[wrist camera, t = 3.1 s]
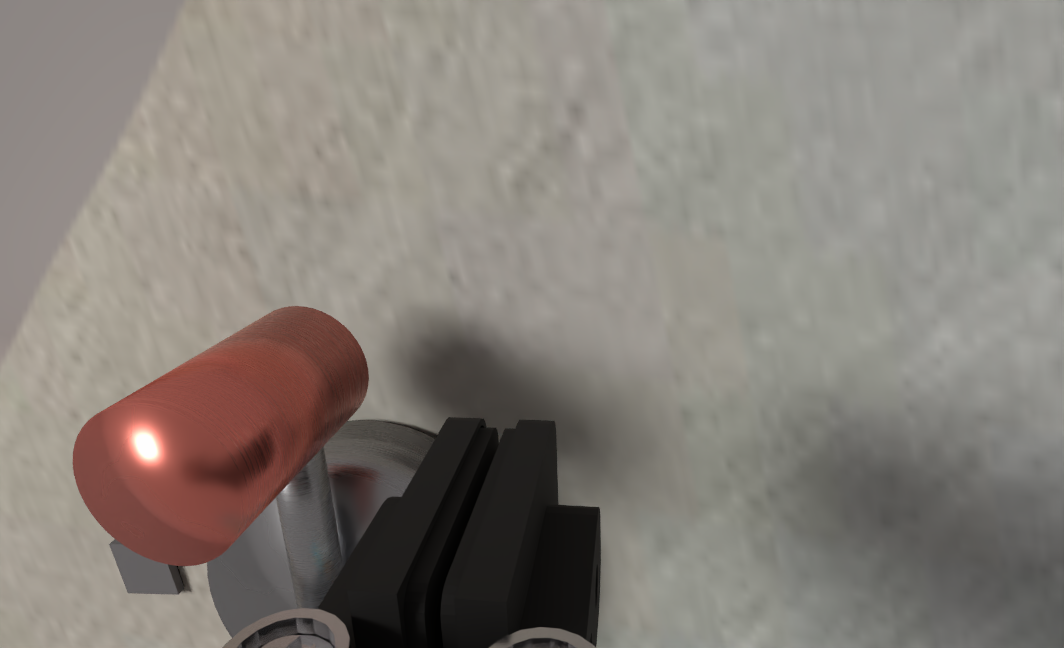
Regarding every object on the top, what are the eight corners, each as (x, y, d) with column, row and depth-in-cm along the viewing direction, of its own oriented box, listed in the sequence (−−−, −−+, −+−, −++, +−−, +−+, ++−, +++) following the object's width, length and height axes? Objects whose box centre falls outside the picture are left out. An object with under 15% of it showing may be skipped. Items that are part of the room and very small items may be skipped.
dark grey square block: (166, 538, 22) (161, 544, 22) (184, 588, 23) (178, 594, 23) (115, 538, 23) (109, 544, 22) (134, 586, 23) (128, 593, 23)
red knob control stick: (521, 656, 21) (447, 958, 14) (286, 629, 22) (107, 890, 15) (499, 274, 17) (378, 417, 10) (213, 272, 18) (-78, 395, 11)
